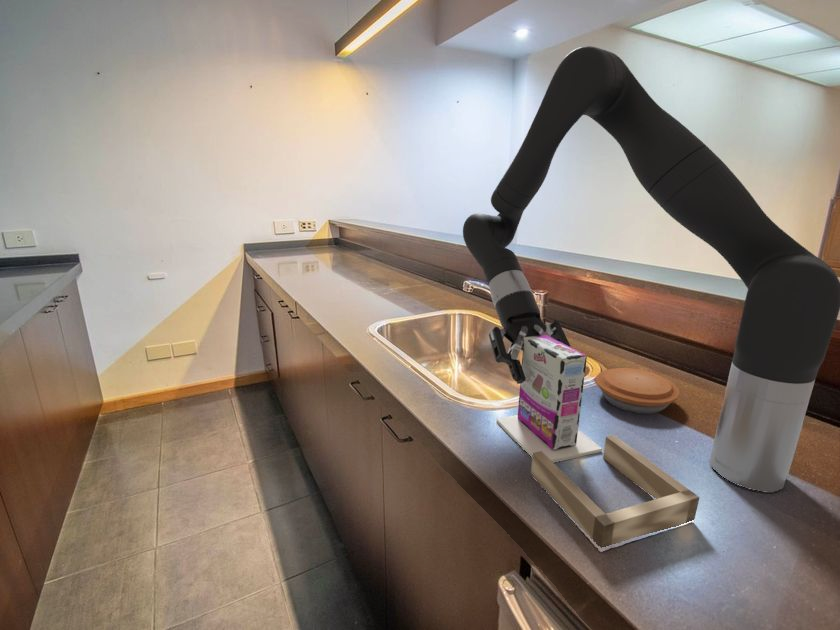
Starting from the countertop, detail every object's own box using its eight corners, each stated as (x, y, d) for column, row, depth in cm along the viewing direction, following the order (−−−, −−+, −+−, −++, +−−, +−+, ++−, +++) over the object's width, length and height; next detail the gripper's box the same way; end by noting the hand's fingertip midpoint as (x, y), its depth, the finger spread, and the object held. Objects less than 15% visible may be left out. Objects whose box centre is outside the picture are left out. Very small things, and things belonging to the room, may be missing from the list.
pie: (674, 428, 77) (679, 404, 75) (586, 405, 85) (588, 383, 84) (679, 394, 89) (683, 373, 88) (601, 377, 97) (603, 357, 96)
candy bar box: (578, 446, 71) (589, 355, 66) (553, 452, 69) (562, 359, 64) (538, 413, 81) (545, 332, 76) (516, 418, 79) (521, 336, 74)
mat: (551, 411, 83) (551, 408, 83) (601, 451, 70) (601, 448, 70) (496, 421, 79) (496, 418, 79) (539, 466, 66) (539, 463, 66)
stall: (610, 456, 69) (613, 434, 68) (693, 522, 55) (699, 497, 54) (530, 475, 64) (532, 453, 63) (600, 552, 51) (604, 525, 49)
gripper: (486, 292, 75) (516, 376, 68) (554, 286, 80) (589, 365, 73) (473, 312, 82) (498, 392, 75) (536, 306, 86) (566, 380, 79)
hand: (543, 378), depth 74 cm, fingers open, 8 cm apart
